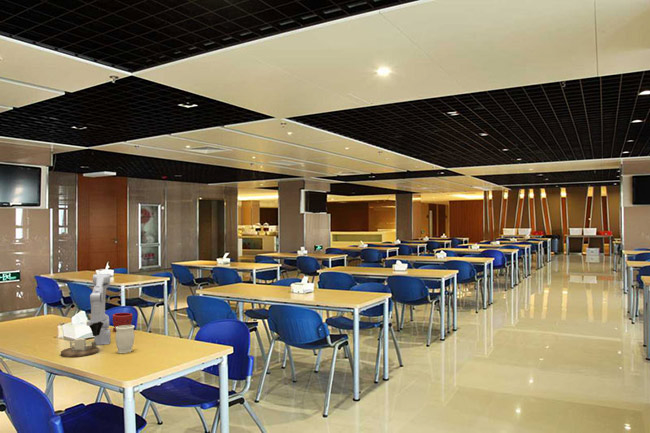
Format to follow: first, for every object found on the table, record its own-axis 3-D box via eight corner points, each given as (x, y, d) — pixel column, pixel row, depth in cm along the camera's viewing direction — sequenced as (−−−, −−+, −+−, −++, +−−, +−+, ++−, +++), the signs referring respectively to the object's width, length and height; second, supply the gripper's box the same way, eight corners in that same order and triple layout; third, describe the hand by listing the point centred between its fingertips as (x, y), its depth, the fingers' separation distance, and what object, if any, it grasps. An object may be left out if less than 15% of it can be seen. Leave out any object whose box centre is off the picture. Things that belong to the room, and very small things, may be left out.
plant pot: (114, 333, 339) (114, 316, 339) (111, 330, 350) (111, 313, 350) (134, 331, 346) (134, 314, 346) (130, 328, 357) (130, 311, 357)
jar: (138, 350, 292) (138, 325, 292) (125, 354, 282) (126, 328, 282) (123, 349, 295) (124, 324, 296) (111, 353, 286) (111, 327, 286)
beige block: (85, 348, 289) (85, 337, 290) (84, 350, 285) (84, 339, 285) (71, 349, 287) (71, 338, 287) (69, 351, 282) (69, 340, 282)
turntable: (101, 347, 299) (101, 339, 299) (95, 355, 280) (96, 347, 280) (64, 349, 293) (65, 342, 293) (57, 358, 274) (57, 350, 274)
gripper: (98, 310, 298) (98, 332, 298) (82, 314, 284) (81, 337, 284) (108, 310, 297) (108, 333, 297) (92, 314, 283) (92, 338, 282)
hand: (96, 335), depth 290 cm, fingers closed
